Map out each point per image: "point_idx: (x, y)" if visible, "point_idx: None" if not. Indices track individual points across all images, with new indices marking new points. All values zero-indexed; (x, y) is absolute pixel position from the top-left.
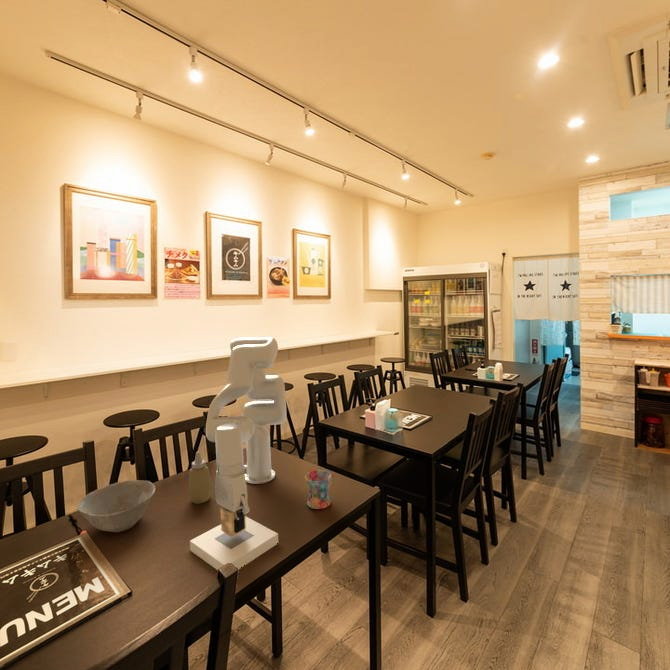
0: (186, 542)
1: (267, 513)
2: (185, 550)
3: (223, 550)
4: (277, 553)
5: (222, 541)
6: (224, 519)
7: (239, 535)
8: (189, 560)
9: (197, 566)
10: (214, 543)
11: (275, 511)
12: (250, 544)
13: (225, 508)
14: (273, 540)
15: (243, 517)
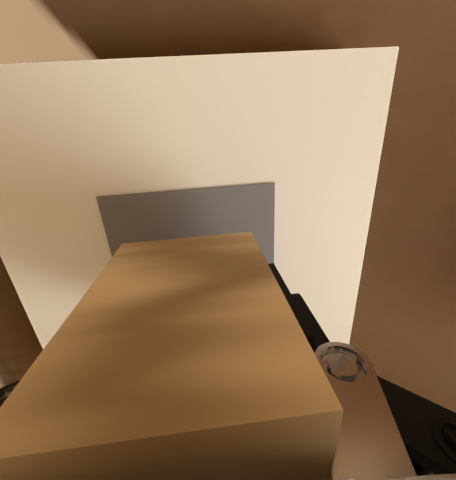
0: (433, 92)
1: None
2: (381, 45)
3: (117, 156)
4: (25, 336)
5: (207, 199)
6: (206, 298)
7: None
8: (283, 5)
9: (194, 9)
10: (231, 155)
11: None
12: (66, 291)
13: (234, 456)
14: None
15: None
